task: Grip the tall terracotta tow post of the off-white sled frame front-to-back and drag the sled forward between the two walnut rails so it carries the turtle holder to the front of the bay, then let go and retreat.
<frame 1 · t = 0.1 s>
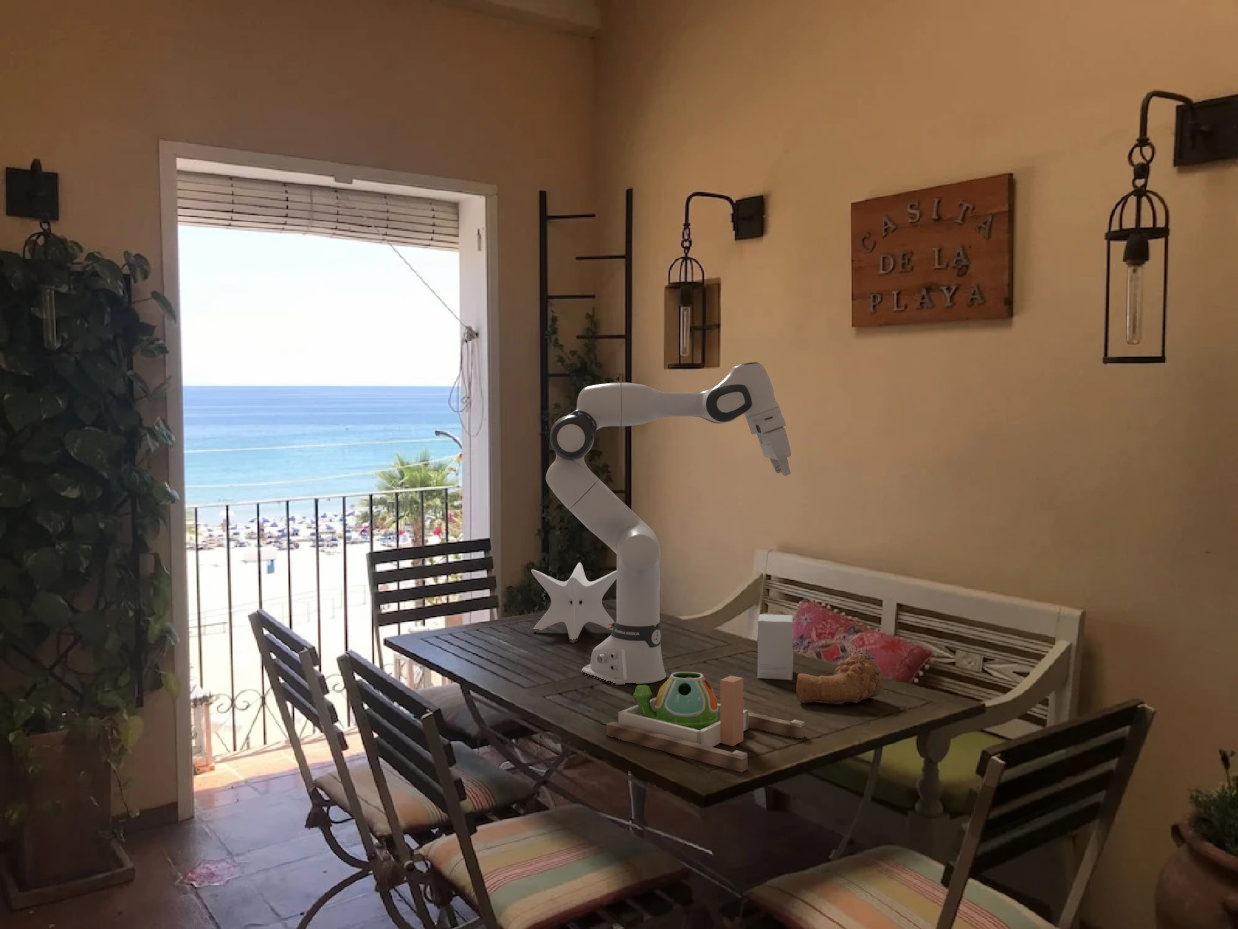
hand: (783, 473, 238), 52 cm above the table, tool tilted 20°, fingers open, 8 cm apart
starfish: (576, 634, 289), on the table
bay rails: (705, 736, 195), on the table
sled: (689, 701, 197), point 7 cm above the table, slide at 0.0 cm
turtle holder: (679, 731, 199), resting in sled
clay pipe: (840, 702, 219), on the table
supplement box: (775, 675, 241), on the table
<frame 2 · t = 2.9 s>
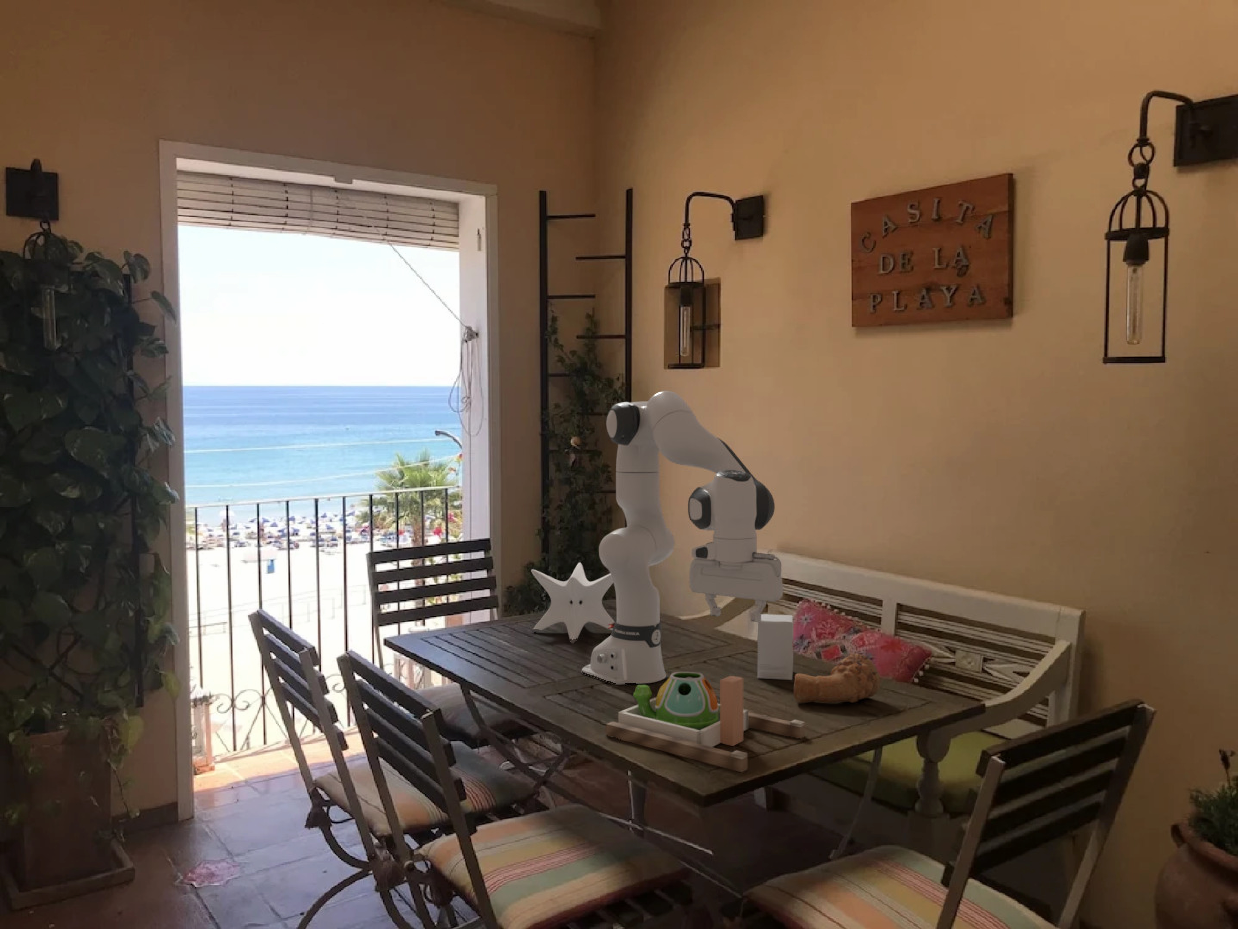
hand: (735, 618, 190), 26 cm above the table, tool pointing down, fingers open, 8 cm apart
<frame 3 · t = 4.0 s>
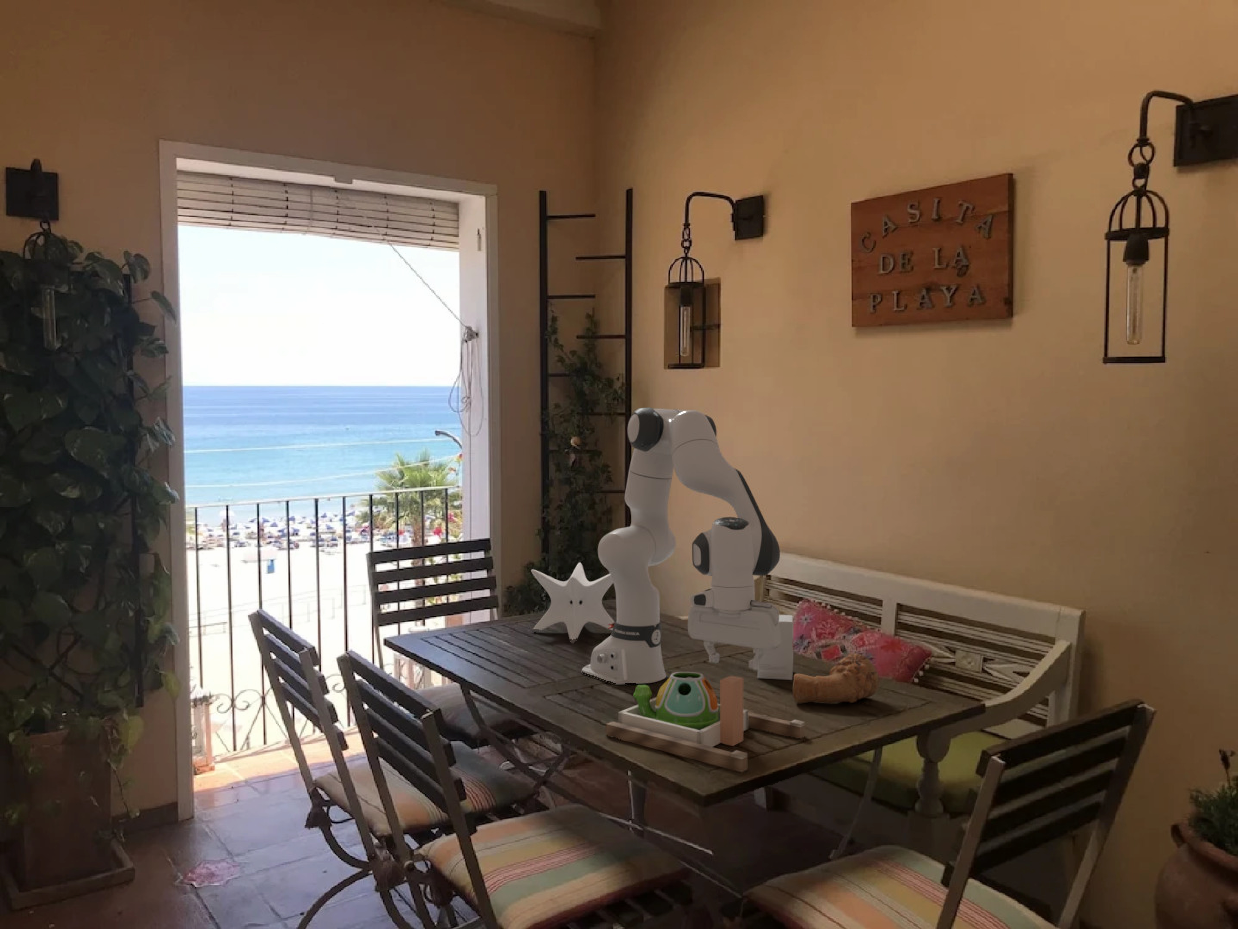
hand: (733, 665, 190), 16 cm above the table, tool pointing down, fingers open, 8 cm apart
nothing on the table moved.
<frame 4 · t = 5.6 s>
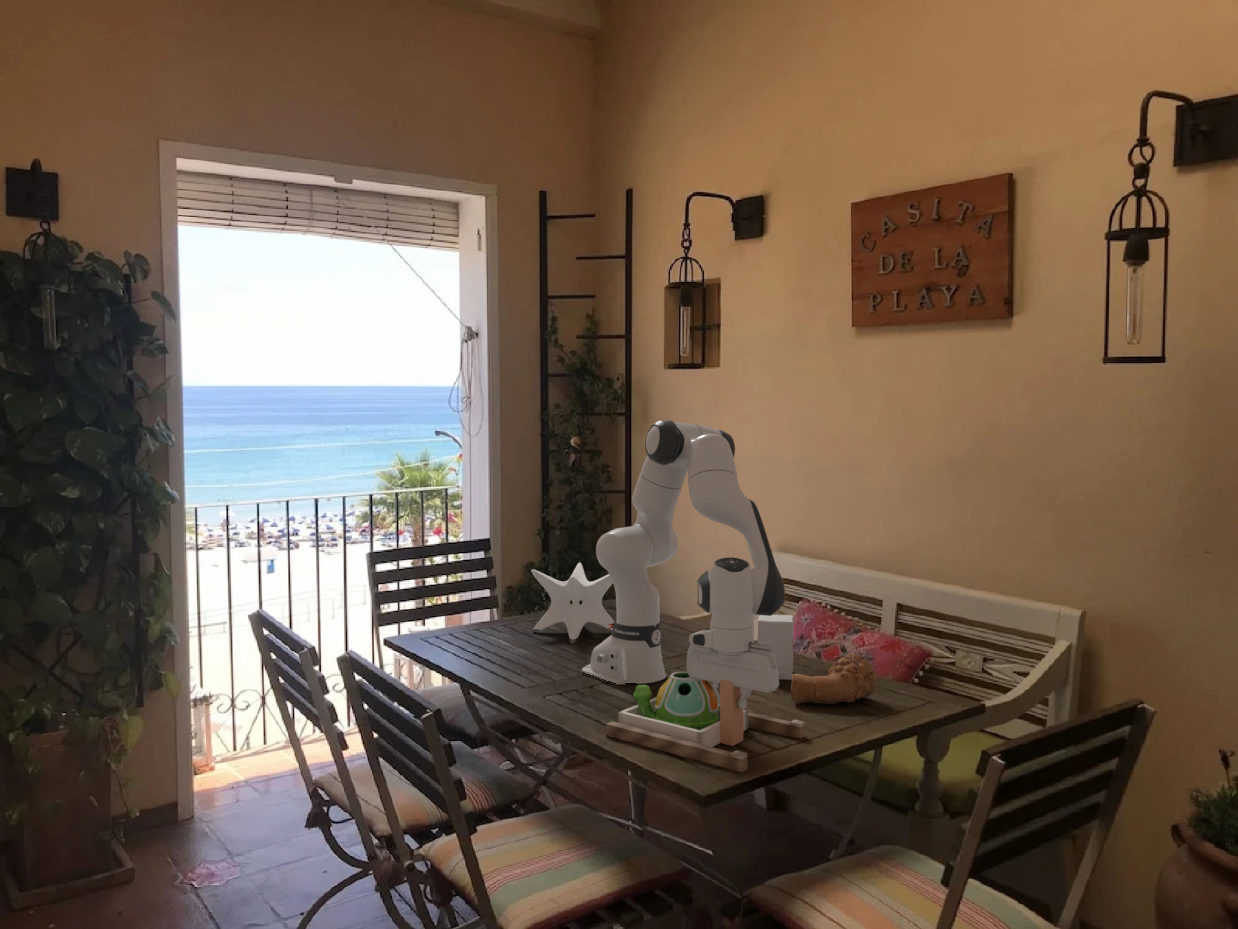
hand: (731, 706, 190), 8 cm above the table, tool pointing down, fingers closed on sled, 3 cm apart
sled: (689, 701, 197), point 7 cm above the table, slide at 0.0 cm, touching gripper
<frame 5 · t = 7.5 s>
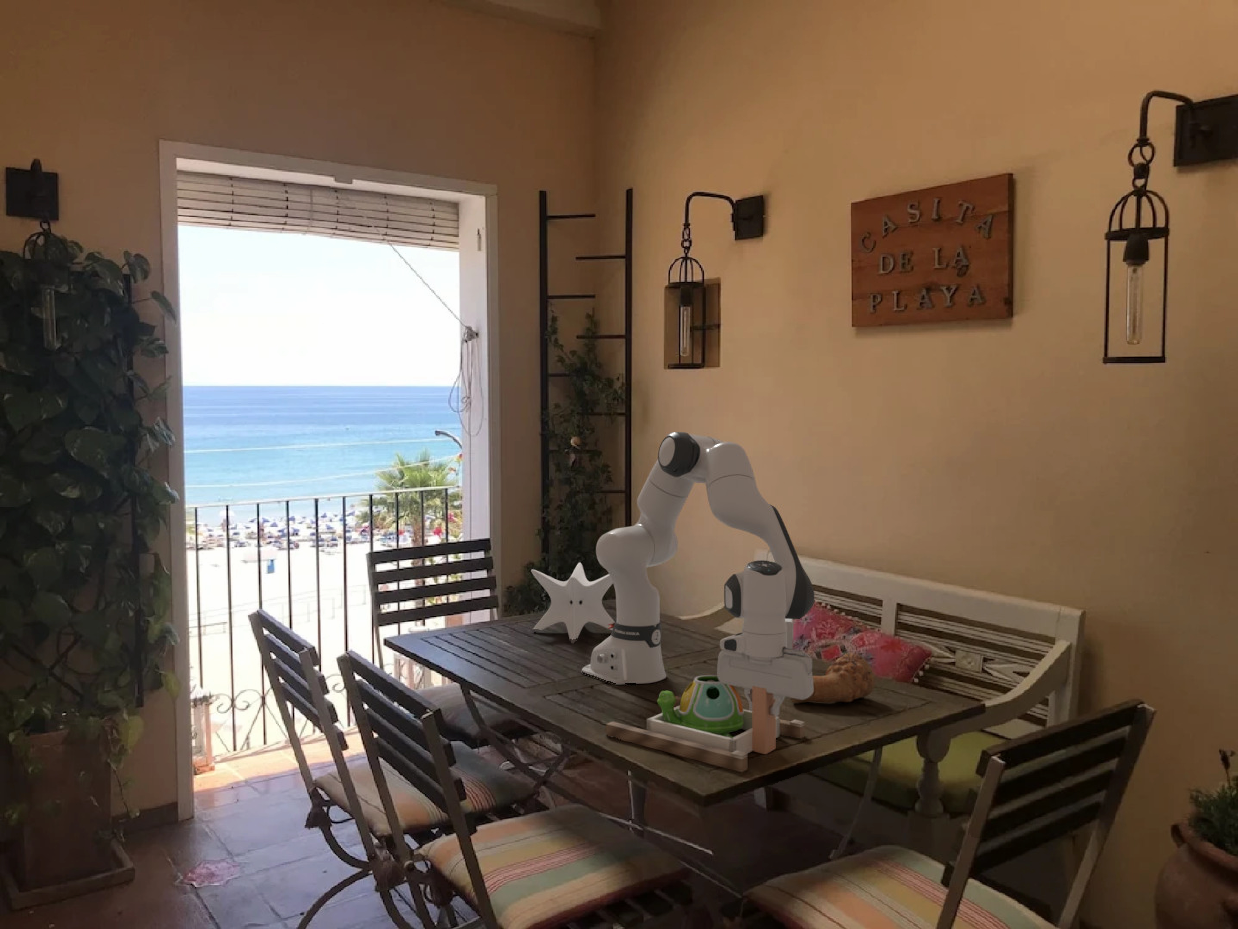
hand: (764, 712, 185), 8 cm above the table, tool pointing down, fingers closed on sled, 3 cm apart
sled: (719, 707, 192), point 7 cm above the table, slide at 7.5 cm, touching gripper
turtle holder: (704, 735, 195), resting in sled
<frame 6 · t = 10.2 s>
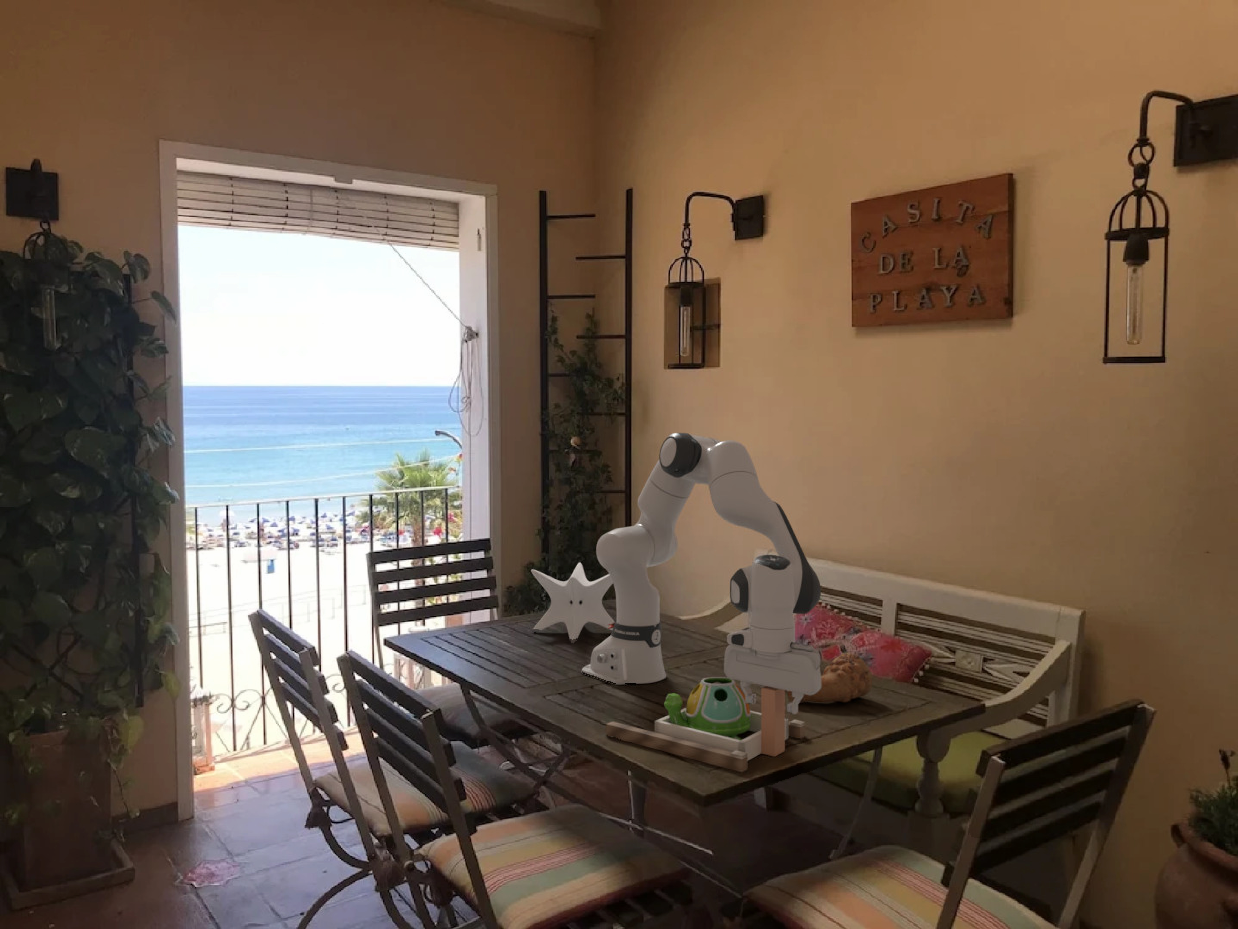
hand: (771, 708, 184), 9 cm above the table, tool pointing down, fingers open, 8 cm apart
sled: (727, 709, 191), point 7 cm above the table, slide at 9.6 cm
turtle holder: (711, 738, 194), resting in sled
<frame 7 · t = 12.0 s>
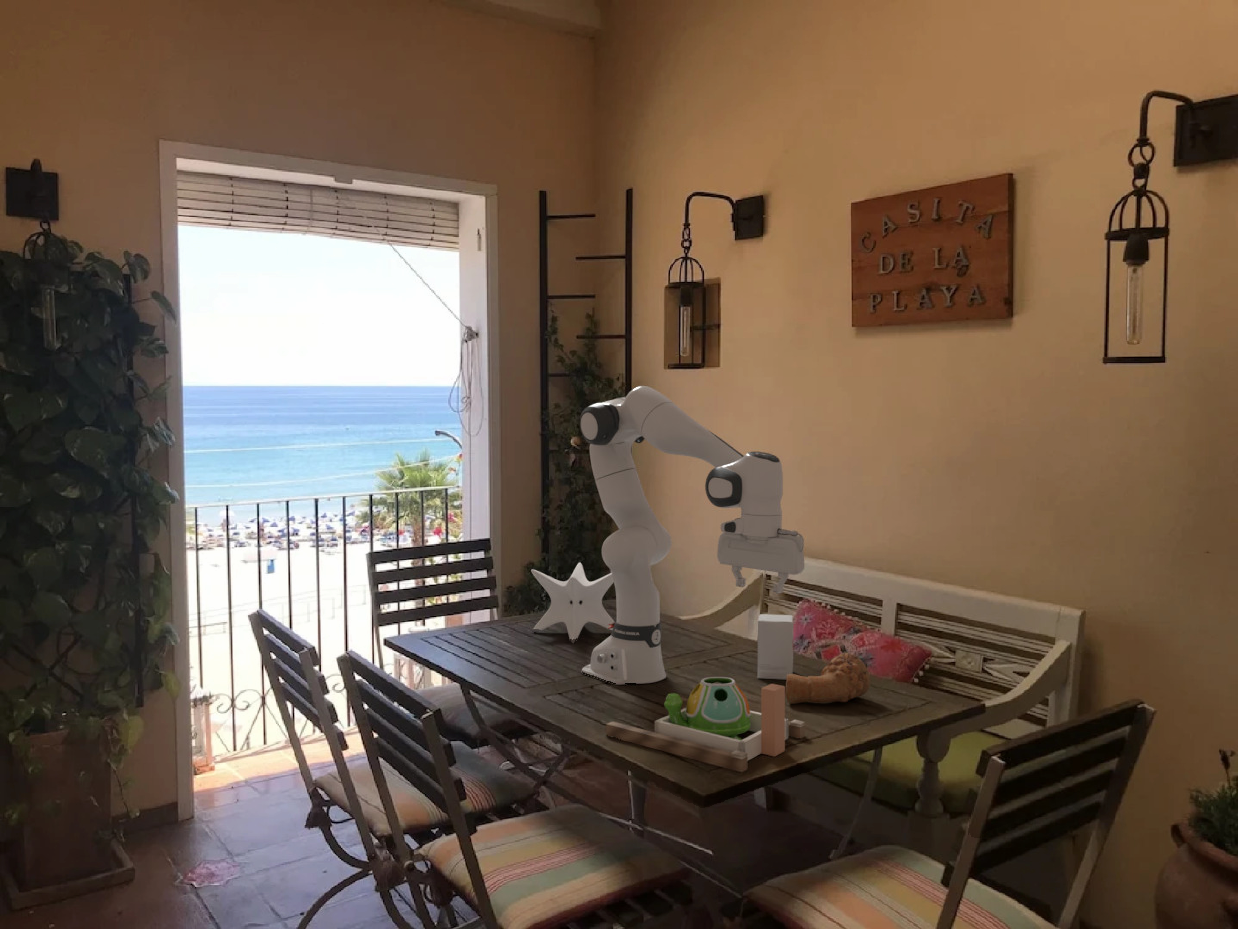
hand: (759, 589, 204), 29 cm above the table, tool pointing down, fingers open, 8 cm apart
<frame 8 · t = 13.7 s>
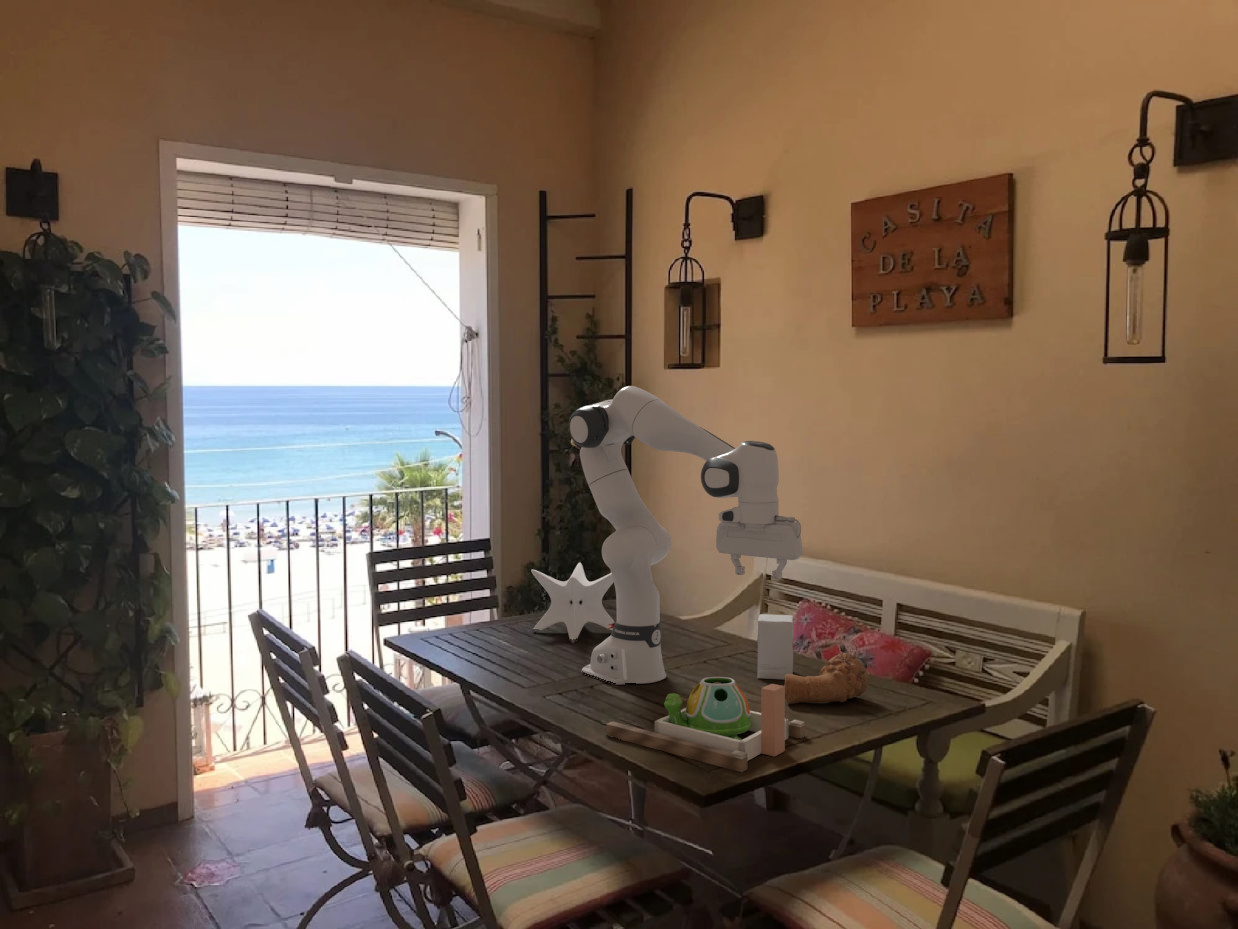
hand: (758, 576, 207), 31 cm above the table, tool pointing down, fingers open, 8 cm apart
at the end: sled slide at 9.6 cm; turtle holder inside the target area (3.8 cm from its centre), resting in sled; turtle holder tilted 0° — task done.
